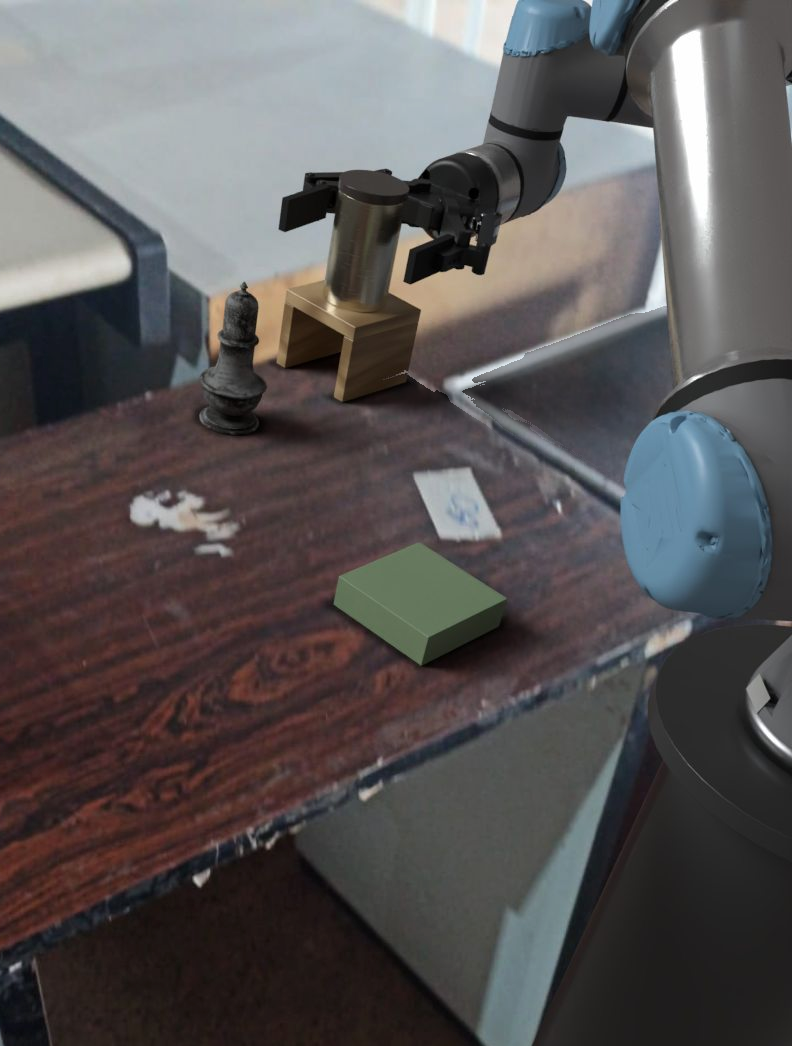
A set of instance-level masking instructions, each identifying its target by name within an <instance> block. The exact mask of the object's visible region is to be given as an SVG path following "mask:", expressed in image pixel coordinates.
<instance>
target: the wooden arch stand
mask: <svg viewBox="0 0 792 1046" xmlns="http://www.w3.org/2000/svg"><path fill="white" fill-rule="evenodd" d="M324 281H325V279H324V280H319V281H315V282H310V283H306V284H302V285H298V286H293V287H290V288H286V292H285V299H284V303H283V312H282V319H281V327H280V334H279V343H278V348H277V349H278V350H277V355H276V356H277V357H276V364H277V365H279V366H280V367H283V368H284V369H286V368H291V367H293V366H297V365H301V364H304V363H307V362H311V361H315V360H318V359H321V358H325V357H328V356H331V355H336V354H338V353H340V357H339V364H338V369H337V375H336V380H335V381H336V382H335V387H334V393H333V398H335V399H336V400H337V401H339V402H341V403H344V402H347V401H351V400H354V399H357V398H360V397H364V396H366V395H370V394H373V393H377V392H378V391H383V390H386V389H389V388H392V387H394V386H398V385H401V384H405V383H406V382H407V378H408V374H409V369H410V364H411V360H412V356H413V350H414V346H415V341H416V336H417V331H418V326H419V322H420V317H421V314H422V309H420V308H419V307H417V306H415V305H413V304H411V303H409V302H407V301H405V300H404V299H402V298H401V297H399V296H396V295H395V294H393V293H392V292H391V293H390V292H389V293H388V298H387V303H386V306H385V308H384V309H382V310H380V311H377V312H369V313H363V312H354V311H349V310H345V309H342V308H339V307H337V306H334V305H332V304H331V303H329V302H328V301H327V300H326V299H325V298H324V297H323V287H324ZM404 370H406V371H408V373H405V374H401V375H398V376H395V375H396V374H399V373H401V372H404ZM392 376H395V377H392ZM388 377H389V379H386V378H388ZM390 377H392V378H390ZM383 379H385V380H383Z"/></svg>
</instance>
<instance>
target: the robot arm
mask: <svg viewBox="0 0 792 1046" xmlns="http://www.w3.org/2000/svg"><path fill="white" fill-rule="evenodd" d="M788 86H789V87H790V86H792V0H592V2H591V4H590V3H589V2H587V1H585V0H517V2H516V4H515V7H514V11H513V14H512V16H511V20H510V24H509V27H508V31H507V35H506V39H505V41H504V43H503V47H502V57H501V62H500V65H499V71H498V75H497V80H496V85H495V90H494V95H493V99H492V105H491V109H490V113H489V118H488V121H487V125H486V129H485V133H484V138H483V142H482V144H480V145H476V146H474V147H471V148H467V149H464V150H460V151H457V152H456V153H453V154H451V155H450V154H449V155H447V156H444V157H441V158H438V159H436V160H434V161H432V162H431V163H430V164H428V166H426V167H425V169H424V170H422V172H421V173H420V175H419V176H418V178H413V179H412V180H402V179H401V180H402V181H404V182H405V183H406V184H407V185H408V186H409V194H408V199H407V201H406V204H405V209H404V215H403V220H402V225H407V226H409V227H410V228H418V229H419V228H420V229H422V230H423V231H424V232H425V234H426V235H427V236H428V237H429V238H431V240H429V241H427V242H424V243H421V244H418V245H417V246H415V247H414V246H413V247H412V248H410V249H409V251H408V256H407V261H406V266H405V269H404V275H403V280H402V282H403V283H405V284H408V285H409V286H411V285H413V284H415V283H417V282H420V281H422V280H424V279H427V278H429V277H431V276H434V275H436V274H438V273H446V272H449V271H451V270H454V269H455V270H457V271H458V270H459V271H460V270H461V271H462V270H464V269H465V267H466V266H467V267H470V268H471V273H473V274H475V275H477V276H483V275H485V273H486V271H487V270H486V269H487V265H488V261H489V256H490V253H491V249H492V247H493V245H495V244H496V243H497V240H498V236H499V231H500V227H501V226H503V225H504V224H507V223H509V222H512V221H514V220H517V219H521V218H524V217H527V216H530V215H531V214H534V213H536V212H538V211H539V210H540V209H542V208H543V207H544V206H546V205H547V204H548V203H550V202H551V201H553V200H554V199H555V198H556V197H557V195H558V194H559V192H560V191H561V189H562V187H563V185H564V182H565V180H566V176H567V169H568V167H567V159H566V153H565V149H564V147H563V144H562V143H561V139H562V136H563V132H564V127H565V124H566V121H567V119H568V118H569V117H570V118H578V119H586V120H593V121H601V122H606V123H610V122H611V123H616V124H624V125H630V126H635V127H643V128H649V129H652V131H653V132H652V133H653V145H654V146H653V147H654V156H655V157H654V158H655V170H656V184H657V198H658V210H659V224H660V236H661V251H662V261H663V262H662V263H663V265H662V266H663V276H664V288H665V291H664V292H665V302H666V303H665V304H666V316H667V328H668V329H667V330H668V343H669V357H670V366H671V381H672V390H671V391H670V392H669V393H668V394H667V395H666V396H665V397H664V398H663V399H662V401H660V403H659V405H658V406H657V408H656V409H655V411H654V412H653V416H652V420H651V421H650V422H649V423H648V424H647V426H645V428H644V429H642V431H641V432H640V434H639V435H638V437H637V438H636V440H635V442H634V444H633V446H632V448H631V451H630V454H629V455H628V458H627V462H626V465H625V469H624V475H623V480H622V482H623V484H624V487H625V492H624V495H623V496H622V497H621V498H620V513H619V514H620V531H621V539H622V546H623V550H624V554H625V558H626V562H627V565H628V567H629V569H630V572H631V574H632V576H633V578H634V580H635V582H636V583H637V585H638V587H639V588H640V589H641V591H642V592H643V593H644V594H645V595H646V596H647V597H649V598H650V599H651V600H653V601H655V602H656V603H657V604H658V605H659V606H661V607H663V608H666V609H668V610H671V611H678V612H686V613H693V614H700V615H702V616H705V617H707V618H711V619H713V620H714V619H715V620H730V619H735V618H736V619H749V620H750V619H751V620H765V621H779V622H792V130H791V120H790V112H789V100H788V92H787V90H788V89H787V87H788ZM375 171H377V172H381V173H385V174H388V175H391V176H393V171H392V170H391V169H389V168H381V169H375ZM343 172H344V171H329V172H328V171H327V172H325V171H324V172H323V171H322V172H319V171H318V172H313V171H312V172H305V173H304V178H303V183H302V184H303V186H302V190H301V191H298V192H295V193H292V194H289V195H286V196H283V197H282V199H281V206H280V213H279V223H278V229H277V230H278V231H280V232H283V233H287V232H290V231H293V230H296V229H299V228H301V227H304V226H307V225H310V224H313V223H315V222H320V221H321V220H324V219H326V218H327V214H333V215H335V210H336V204H337V197H338V191H339V188H338V183H339V177H340V175H341V174H342V173H343ZM474 237H475V238H474ZM472 238H474V241H475V242H476V244H471V239H472ZM740 717H741V720H742V723H743V726H744V728H745V730H746V732H747V734H748V735H749V737H750V738H751V740H752V741H753V743H754V744H755V745H756V746H757V747H758V749H759V750H760V751H761V752H762V753H763V754H764V755H765V756H766V757H767V758H768V759H769V760H771V761H772V762H773V763H774V764H775V765H777V766H778V767H779V768H780V769H782V770H783V771H785V772H786V773H788V774H789V775H791V776H792V635H791V636H790V637H789V638H788V639H787V640H786V641H785V642H784V643H783V644H782V645H781V646H780V647H779V648H778V649H777V650H776V651H775V652H774V653H773V654H772V655H771V656H770V657H768V658H767V659H766V660H765V661H764V662H763V663H762V664H761V665H760V666H759V667H758V668H757V669H756V670H755V672H754V673H753V675H752V677H751V679H750V681H749V683H748V685H747V687H746V689H745V691H744V693H743V695H742V697H741V701H740Z"/></svg>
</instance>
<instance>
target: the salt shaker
mask: <svg viewBox="0 0 792 1046" xmlns="http://www.w3.org/2000/svg"><path fill="white" fill-rule="evenodd" d="M239 288H240V289H239V290H236V291H234V292H231V293H230V294H229V295H228V296H227V297H226V299H225V303H224V312H223V320H222V329H221V330H219V331H218V332H217V335H216V336H217V339H218V341H219V350H218V351H219V352H218V359H217V361H216V362H217V363H216V364H215V366H211V367H209V368H206V369H204V370H203V371H202V372H201V373H200V375H199V382H200V384H201V385H202V386H201V387H202V393H203V397H204V400H205V401H206V403H207V404H208V405H209V406H207V407H204V408H203V409H202V410H201V411H200V413H199V421H200V422H201V424H202V425H203V426H205V428H207V429H209V430H212V431H213V432H216V433H219V434H222V435H223V434H224V435H229V436H243V435H247V434H251V433H253V432H255V431H256V430H257V429H259V425H260V421H259V418H258V417H257V416H256V414H255V413H253V412H252V411H254V410H255V409H256V408H258V406H259V403H260V402H261V401H262V398H263V394H264V393H266V391H267V389H268V384H267V382H266V380H265V379H264V377H263V376H261V375H260V374H259V373H257V372H256V371H255V369H254V359H255V358H254V357H255V350H256V349H255V348H256V347H257V346H258V345H259V343H260V338H259V336H258V335H257V334H256V332H257V324H258V318H259V317H258V316H259V308H260V307H259V301H258V300H257V297H255V296H254V295H253V294H252V293H250V292H249V291H247V289H249V285H248V284H247V283H246V281H243V282H242V283H241V284H240V285H239Z"/></svg>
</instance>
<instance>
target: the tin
mask: <svg viewBox="0 0 792 1046" xmlns="http://www.w3.org/2000/svg"><path fill="white" fill-rule="evenodd" d="M342 172H343V173H342V174H341V175H340V177H339V183H338V188H339V191H338V197H337V204H336V210H335V214H334V216H333V217H334V218H333V222H332V223H333V224H332V230H331V237H330V242H329V250H328V255H327V262H326V268H325V274H324V276H325V277H324V280H325V281H324V287H323V297H324V298H325V299H326V300H327V301H328V302H329V303H331V304H332V305H334V306H337V307H339V308H342V309H345V310H349V311H354V312H363V313H369V312H377V311H380V310H382V309H384V308H385V306H386V303H387V298H388V293H390V287H391V281H392V277H393V272H394V266H395V263H396V262H395V261H396V256H397V251H398V246H399V240H400V235H401V229H402V225H403V224H402V220H403V215H404V209H405V204H406V201H407V199H408V194H409V186H408V185H407V184H406V183H405V182H404V181H405V180H403V181H402V179H400V178H398V177H396V176H394V175H392V176H391V175H388V174H385V173H381V172H377V171H376V170H371V169H351V170H345V171H342Z"/></svg>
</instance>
